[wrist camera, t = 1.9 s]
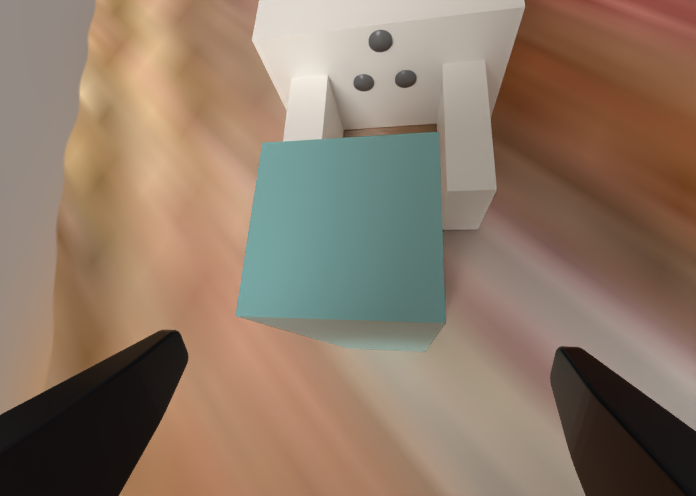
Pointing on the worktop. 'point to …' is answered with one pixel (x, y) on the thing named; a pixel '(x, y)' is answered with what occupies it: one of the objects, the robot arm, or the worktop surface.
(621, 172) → the worktop surface
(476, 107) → the socket
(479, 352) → the worktop surface
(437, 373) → the worktop surface
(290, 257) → the teal rectangular block
